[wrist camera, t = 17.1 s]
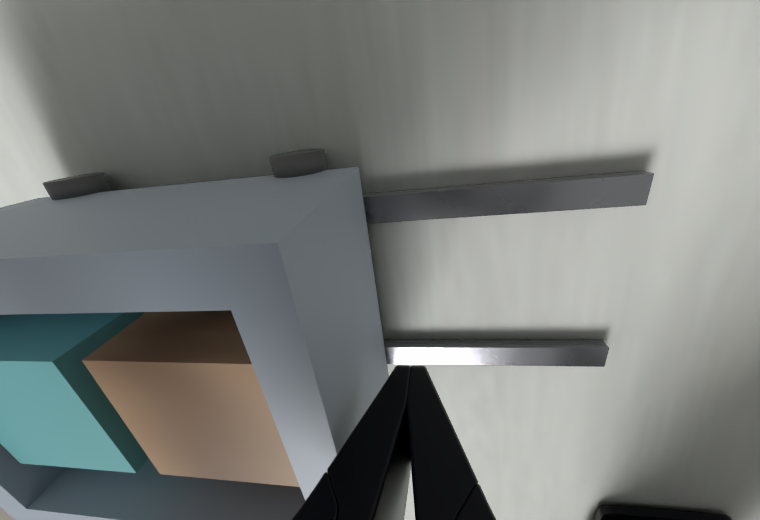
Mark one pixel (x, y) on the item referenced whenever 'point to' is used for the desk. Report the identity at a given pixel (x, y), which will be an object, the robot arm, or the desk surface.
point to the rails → (498, 202)
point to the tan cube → (192, 397)
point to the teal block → (61, 393)
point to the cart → (209, 293)
